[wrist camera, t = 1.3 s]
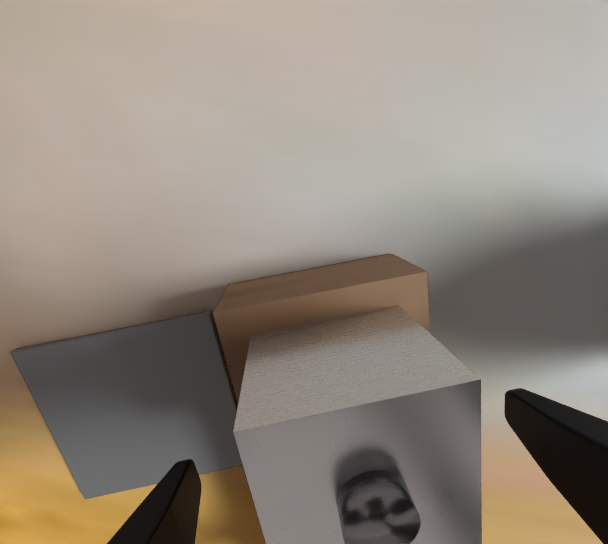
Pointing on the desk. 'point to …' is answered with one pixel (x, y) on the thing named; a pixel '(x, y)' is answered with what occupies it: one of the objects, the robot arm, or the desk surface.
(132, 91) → the desk surface
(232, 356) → the body
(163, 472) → the pad
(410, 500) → the grey knobbed cube
